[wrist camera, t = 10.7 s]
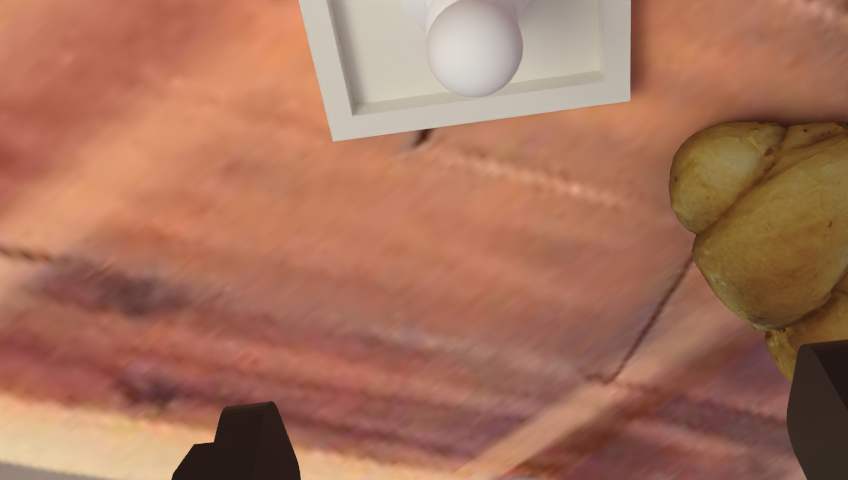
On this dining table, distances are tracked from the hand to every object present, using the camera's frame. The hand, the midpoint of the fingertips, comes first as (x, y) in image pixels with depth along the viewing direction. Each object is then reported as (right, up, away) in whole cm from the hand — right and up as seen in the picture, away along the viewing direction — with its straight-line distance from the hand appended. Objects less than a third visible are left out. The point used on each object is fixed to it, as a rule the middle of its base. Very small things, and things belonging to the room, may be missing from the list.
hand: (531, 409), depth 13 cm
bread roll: (+15, +5, +24) cm, 29 cm away
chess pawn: (0, +13, +17) cm, 22 cm away
